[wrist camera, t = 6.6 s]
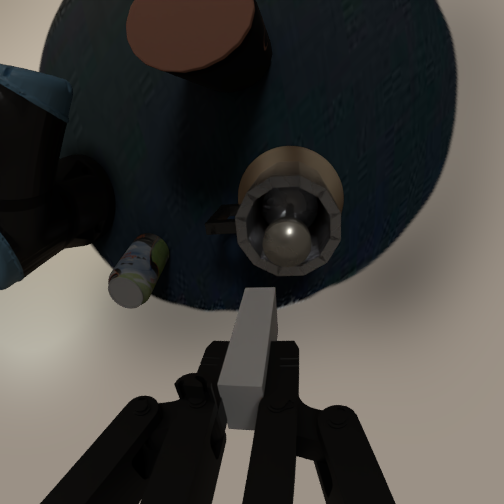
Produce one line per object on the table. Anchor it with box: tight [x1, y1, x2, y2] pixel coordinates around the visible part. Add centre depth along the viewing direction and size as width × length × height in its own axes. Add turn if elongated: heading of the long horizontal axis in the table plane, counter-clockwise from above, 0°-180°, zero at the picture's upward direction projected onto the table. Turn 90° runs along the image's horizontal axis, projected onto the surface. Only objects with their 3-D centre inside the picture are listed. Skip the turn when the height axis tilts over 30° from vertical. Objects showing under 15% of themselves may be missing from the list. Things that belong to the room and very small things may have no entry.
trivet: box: [238, 146, 344, 212], centre depth 40 cm, size 14×14×1 cm
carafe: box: [205, 161, 341, 276], centre depth 35 cm, size 13×10×12 cm
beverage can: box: [108, 233, 169, 308], centre depth 41 cm, size 6×7×12 cm
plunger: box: [263, 187, 318, 267], centre depth 31 cm, size 7×7×13 cm
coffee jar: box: [126, 0, 272, 92], centre depth 26 cm, size 11×11×18 cm
